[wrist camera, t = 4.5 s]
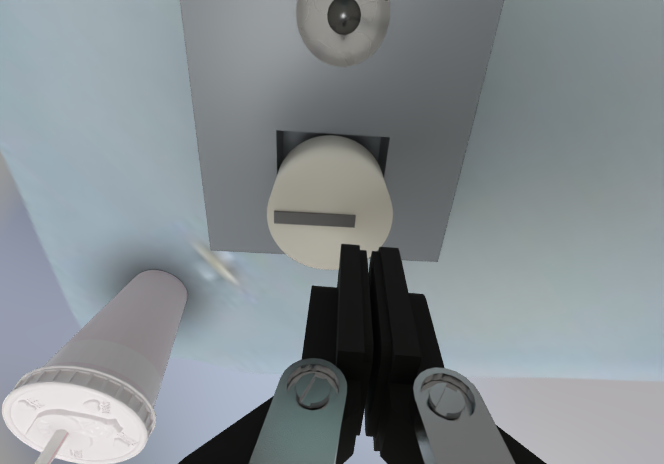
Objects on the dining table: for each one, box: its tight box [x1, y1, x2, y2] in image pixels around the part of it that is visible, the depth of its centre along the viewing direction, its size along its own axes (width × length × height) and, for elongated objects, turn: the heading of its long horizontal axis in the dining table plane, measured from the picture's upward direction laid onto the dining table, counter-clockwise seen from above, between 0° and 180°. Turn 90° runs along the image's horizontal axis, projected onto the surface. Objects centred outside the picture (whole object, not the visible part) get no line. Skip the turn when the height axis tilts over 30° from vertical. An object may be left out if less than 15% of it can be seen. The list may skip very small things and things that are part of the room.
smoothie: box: [2, 270, 187, 464], centre depth 19 cm, size 6×6×14 cm
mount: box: [180, 0, 504, 262], centre depth 15 cm, size 12×22×4 cm, turn 176°
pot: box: [296, 0, 390, 67], centre depth 12 cm, size 3×3×4 cm
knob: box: [267, 135, 393, 270], centre depth 17 cm, size 5×5×6 cm
